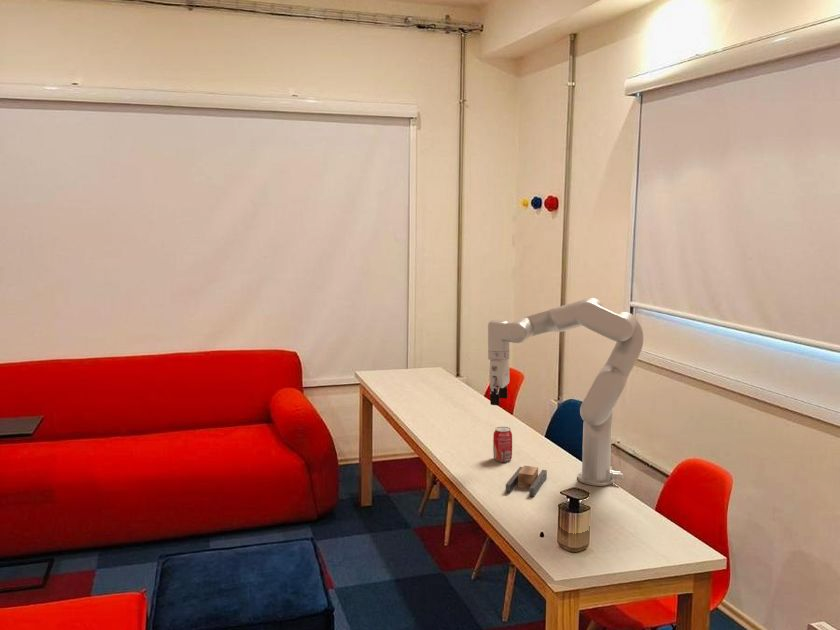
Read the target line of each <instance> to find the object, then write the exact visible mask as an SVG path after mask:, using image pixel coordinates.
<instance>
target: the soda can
mask: <svg viewBox="0 0 840 630" xmlns="http://www.w3.org/2000/svg"><path fill="white" fill-rule="evenodd" d="M492 443H493V446H492V447H493V448H492V451H493V452H492V453H493V455H492V456H493V459H494V460H496V461H497V462H500V463H506V462H509V461H511V460H512V458H513V433H512V430H511V427H508V426H497V427H495V430H494V431H493V441H492Z"/></svg>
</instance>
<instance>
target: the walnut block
mask: <svg viewBox="0 0 840 630" xmlns="http://www.w3.org/2000/svg"><path fill="white" fill-rule="evenodd" d="M522 467H523V468H522V469H521V470H520V472H519V473H518V484H517V487H518V488H525V489H530V487H531V485H532V484H533V482H534V481H535V480H536V478H537V477H538V475H539V467H538V466H530V465H523V466H522Z"/></svg>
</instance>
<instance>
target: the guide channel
mask: <svg viewBox="0 0 840 630" xmlns="http://www.w3.org/2000/svg"><path fill="white" fill-rule="evenodd" d="M522 468H523V466H519V468H518V469H517V470H516V471H515V473H514V474H513V475H512V476H511V477H510V478H509V480H508V481H507V482H506V483H505V494H510V495H511V493H512V492H513V491H514V489H515V488H516V486H518V473H519V472H520V470H521V469H522ZM547 473H548V471H547V469H542V470H541V471H540V473H538V477H537V478H536V480H535V481H534V482H533V484H532V485H531V487H530V488H529V495H528V496H529V497H530V498H534V497H535V496H536V495H537V493H538V492H539V491H540V489H541V487H542V485H544V483H545V482H546V480H547V475H548V474H547Z"/></svg>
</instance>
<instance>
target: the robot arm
mask: <svg viewBox="0 0 840 630" xmlns="http://www.w3.org/2000/svg"><path fill="white" fill-rule="evenodd" d="M580 327H584V328H587V329H588V330H590V331H592V332H594V333H597V334H598V335H601V336H602V337H605V338H606V339H609V340H611V341H614V342H616V343H615V345H614V346H613V349H612V350H611V353H610V355H609V357H608V358H607V361H606V362H605V364H604V365H603V367H602V368H601V369H600V371H599V372H598V373H597V375H596V376H595V378H594V380H593V383H592V385H591V386H590V388H589V389H588V392H587V394H586V396H585V398H584V399H583V401H582V403H581V405H580V407H579V414H580V417H581V419H582V420H583V424H582V425H583V426H582V427H583V428H582V455H581V458H582V460H581V464H582V465H581V467H582V468H581V471H580V472H578V474H577V475H576V476H577V478H576V479H577V480H578V481H579V482H581V483H583V484H585V485H589V486H595V487H604V486H605V487H606V486H610V485H612V484H614V482H615V481H616V480H615V479H618V480H623V479H624V473H621V471H617V470H614V469H613V466H611V461H612V460H611V454H612V453H611V451H612V450H611V449H612V431H613V429H612V427H613V426H612V425H613V414H614V408H615V407H616V405H617V404H618V400H619V399H620V397H621V395H622V393H623V391H624V389H625V387H626V384H627V380H628V378H629V376H630V374H631V372H632V370H633V368H634V366H635V365H636V362H637V361H638V358H639V357H640V354H641V352H642V350H643V345H644V332H643V328H642V325H641V323H640V322H639V320H638V319H637V317H636V316H634V314H632V313H631V312H627V311H620V312H617V313H615V312H614V311H611V310H609V309H607V308H604V305H603V304H602V302H601V301H600V300H599V299H598V298H595V297H589V298H584V299H580V300H577V301H574V302H571V303H568V304H563V305H561V306H557V307H553V308H549V309H548V310H544V311H542V312H541V311H540V312H538V313H534V314H531V315H527V316H525V317H524V316H523V317H521V318H518V319H517V320H514V321H512V322H509V321H507V320H505V319H493V320H490V321H489V322H488V324H487V350H488V351H487V352H488V353H487V359H488V360H490V362H489V379H488V380H489V391H490V392H489V395H490V397H489V398H490V399H489V402H490V405H492V406H500V399H504V400H505V399H506V400H507V399H508V384H510V380H511V379H510V376H511V375H510V363H509V362H510V361H509V360H510V343H512V344H522V343H525V342H526V340H528V339H529V338H531V337H536V336H538V335H542V334H546V333H550V332H555V333H561V332H566V331H569V330H573V329H576V328H580Z"/></svg>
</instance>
